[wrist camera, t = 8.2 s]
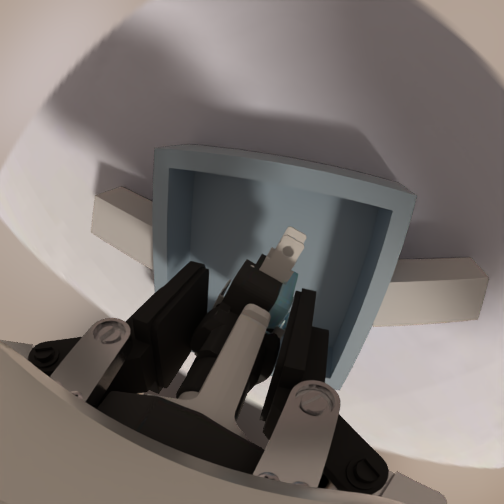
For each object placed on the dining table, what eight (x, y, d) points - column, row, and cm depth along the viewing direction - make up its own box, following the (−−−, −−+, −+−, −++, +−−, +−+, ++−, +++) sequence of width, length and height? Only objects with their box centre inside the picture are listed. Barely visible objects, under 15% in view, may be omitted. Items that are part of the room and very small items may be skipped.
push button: (240, 193, 11) (-5, 389, 2) (359, 261, 10) (371, 556, 2) (187, 310, 14) (64, 473, 5) (279, 361, 14) (215, 550, 5)
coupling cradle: (493, 216, 10) (523, 235, 8) (423, 366, 15) (431, 401, 12) (115, 140, 15) (78, 145, 12) (122, 290, 19) (95, 312, 16)
